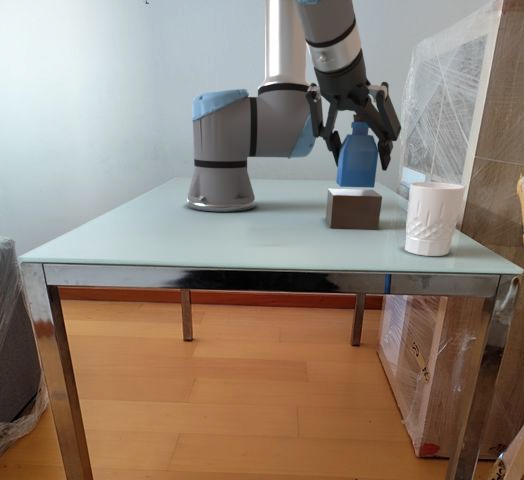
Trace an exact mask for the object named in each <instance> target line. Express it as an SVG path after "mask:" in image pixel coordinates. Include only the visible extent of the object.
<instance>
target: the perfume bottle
mask: <svg viewBox="0 0 524 480" xmlns="http://www.w3.org/2000/svg"><path fill="white" fill-rule="evenodd" d="M352 116H353V117H352V119H353V121H351V124H350V126H351V127H350V128H351V129H352V131H351V134H350V133H349V134H346V135H345V137H344V139H343V141H342V142H341V143H342V145H341V146H340V148H339V158H338V167H337V170H336V184H337V185H338V186H339V187H340V188H369V189H370V188H371V189H373V188H375V183H376V176H377V167H378V160H379V151H378V147H377V143H376V139H375V137H374V135H373V134H369V129H371V128H370V127H369V126H368V125H367V123H366V122H365V121H364V119H363V118H362V117H358V115H357V114H356V113H354V114H352Z"/></svg>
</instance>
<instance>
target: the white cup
mask: <svg viewBox="0 0 524 480" xmlns="http://www.w3.org/2000/svg"><path fill="white" fill-rule="evenodd" d="M465 192H466V186H464V185H463V184H458V183H450V182H440V181H439V182H437V181H416V182H415V181H414V182H411V183H410V184H409V193H408V201H407V211H406V221H405V224H406V225H405V233H406V234H405V241H404V250H405V251H406V252H408V253H410V254H413V255H417V256H424V257H425V256H426V257H442V256H446V255H448V254H449V253H450V248H451V245H452V241H453V239H452V238H453V237H454V235H455V232H456V227H457V223H458V221H459V217H460V213H461V208H462V204H463V199H464V196H465Z"/></svg>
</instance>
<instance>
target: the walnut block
mask: <svg viewBox="0 0 524 480" xmlns="http://www.w3.org/2000/svg"><path fill="white" fill-rule="evenodd" d="M382 201H383V196H382V195H381V194H379V193H378V191H376V190H374V189H366V188H365V189H362V188H359V189H358V188H327V197H326V209H325V210H326V211H325V221H326V222H327V224H328V226H329V228H330V229H344V230H345V229H346V230H347V229H348V230H379V227H380V219H381V218H380V217H381V212H382V211H381V210H382Z"/></svg>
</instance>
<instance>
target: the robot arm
mask: <svg viewBox="0 0 524 480" xmlns="http://www.w3.org/2000/svg"><path fill="white" fill-rule="evenodd" d="M354 8H355V7H354V4H353V0H265V22H264V23H265V24H264V25H265V31H264V32H265V33H264V34H265V35H264V36H265V39H264V41H265V42H264V43H265V44H264V47H265V48H264V49H265V51H264V53H265V56H264V80H263V82H262V83H260V85H259V86H258V87H257V96H249V95H250V93H249V90H248V89H246V88H237V89H226V90H218V91H211V92H204V93H200V94H198V95H196V96H195V97H194V98H193V100H192V108H191V109H192V112H191V113H192V115H191V117H192V118H191V122H192V137H193V138H192V139H193V140H192V141H193V173H192V177H191V182H190V185H189V189H188V193H187V199H186V201H187V207H188V208H189V209H192V210H196V211H204V212H217V213H221V212H223V213H224V212H225V213H231V212H243V211H248V210H253V209H254V208H255V207H256V197H255V192H254V189H253V186H252V183H251V179H250V176H249V172H248V158H287V159H289V160H290V159H291V158H305V157H307V156H309V155H310V154H311V152H312V151H313V149H314V146H315V144H316V140H317V139H318V138H319V137H320V138H322V140H323V141H324V142H325V144H326V148H327V150H328V152H331V153H332V157H333V159H334V162H335V166H336V167H337V168H338V158H339V148H340V146H341V145H342V143H343V142H342V140H341V136H340V133H339V130H334V129H335V125H336V121H337V118H338V113H339V112H344V111H349V112H354V114H357V115H358V117H362V118H363V119H364V121H365V122H366V123H367V125H368V126H369V127H370V128H369V129H370V130H371V131H372V133H373V134H374V135H375V137H376V138H377V139H378V141H377V143H376V146H377V148H378V151H379V152H378V157H379V161H380V166H381V171H383V172H384V171H385V172H386V171H387V170H388V167H389V165H390V163H391V161H392V158H391V154H392V152H393V149H394V143H393V142H397V140H399V139H398V138H399V137H400V134H401V131H402V128H403V127H402V125H401V122H400V120H399V117H398V114H397V112H396V109H395V107H394V104H393V102H392V99H391V97H390V94H389V92H390V91H389V89H390V87H389V86H390V85H389V83H388V82H387V81H382V82H381V83H380V85H377V84H372V83H371V82H370V80H369V79H368V77H367V68H366V63H365V56H364V52H363V48H362V41H361V36H360V32H359V28H358V23H357V17H356V12H355V9H354ZM307 51H308V53H309V57H310V60H311V63H312V66H313V71H314V75H315V77H316V81H317V84H316V82H311V83H310V82H309V80H307V54H308V53H307ZM322 97H323V99H324V100H325V101H326V102H328V103H329V107H328V111H327V118H326V122H325V125H324V114H323V113H324V112H323V111H324V110H323V101H322ZM371 97H372V98H371ZM372 99H373V100H372ZM373 103H375V105H376V106H375V105H374V104H373Z"/></svg>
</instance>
